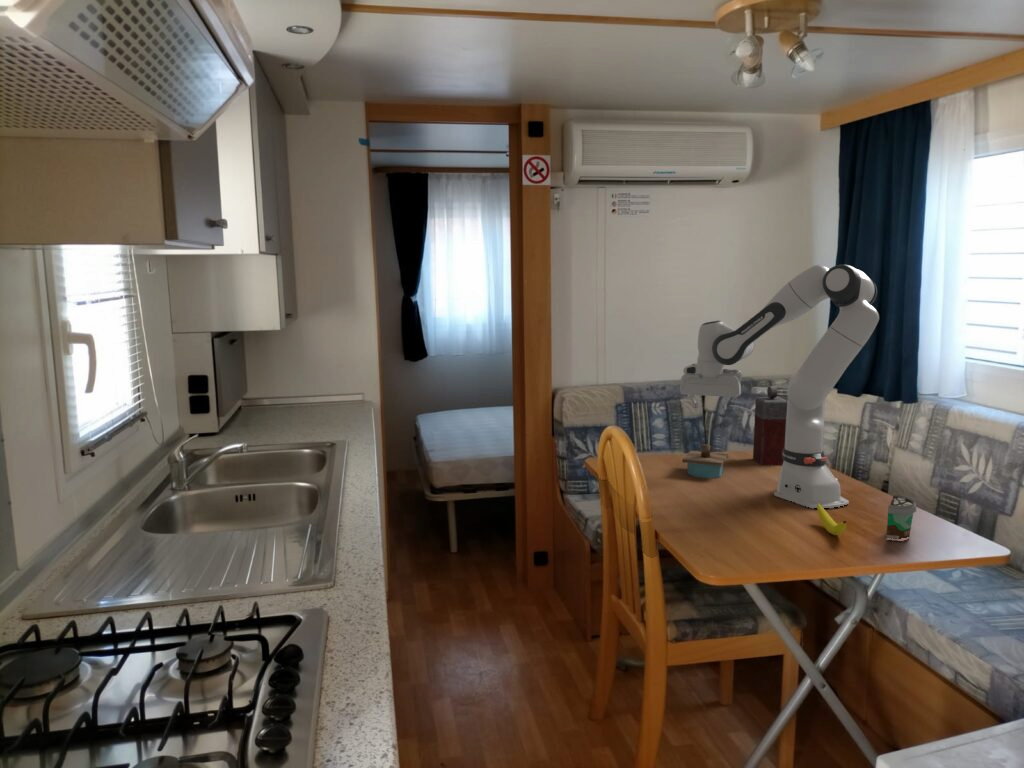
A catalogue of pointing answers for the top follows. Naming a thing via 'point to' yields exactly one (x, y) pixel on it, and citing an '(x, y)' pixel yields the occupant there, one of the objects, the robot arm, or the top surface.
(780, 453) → the dark red canister
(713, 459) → the lid
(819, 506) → the banana
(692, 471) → the bowl
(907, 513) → the food container
